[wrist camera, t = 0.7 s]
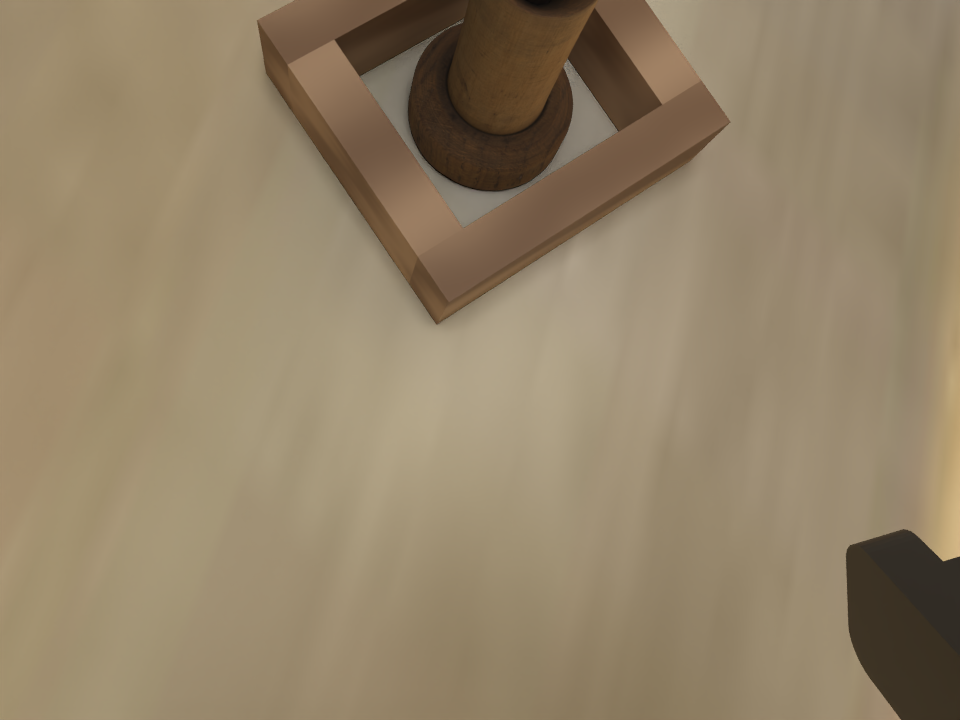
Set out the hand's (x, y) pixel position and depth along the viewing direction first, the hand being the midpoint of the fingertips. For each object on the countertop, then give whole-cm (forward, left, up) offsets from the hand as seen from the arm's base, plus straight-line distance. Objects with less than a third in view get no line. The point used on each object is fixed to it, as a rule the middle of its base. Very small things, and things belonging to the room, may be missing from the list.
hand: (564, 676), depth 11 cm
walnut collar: (-13, +13, -23) cm, 29 cm away
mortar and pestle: (-13, +13, -23) cm, 29 cm away
